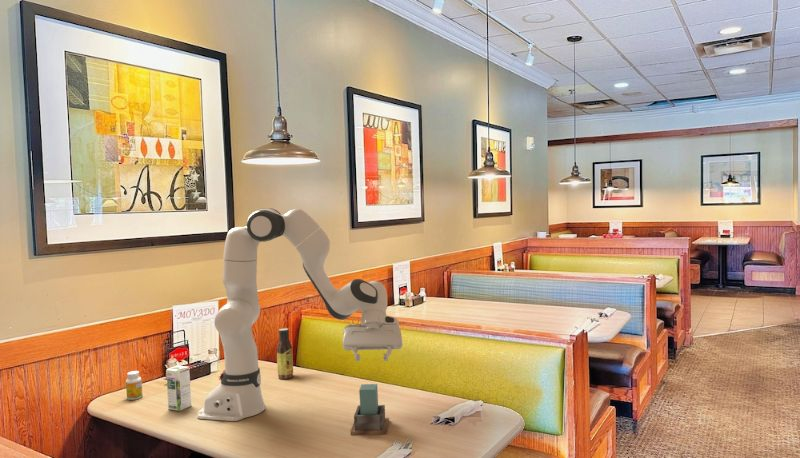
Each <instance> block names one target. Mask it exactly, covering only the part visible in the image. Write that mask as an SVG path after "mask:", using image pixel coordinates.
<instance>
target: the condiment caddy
mask: <svg viewBox="0 0 800 458" xmlns="http://www.w3.org/2000/svg"><path fill="white" fill-rule="evenodd" d="M385 408H386V405H385V404H378V411H379V415H361V413H360V404H359V405H357V407H356V410H355V413H354V415H353V423H352V427H351V429H350V435H351V436H353V435H354V436H356V435H357V436H358V435H361V436H362V435H363V436H365V435H388V429H389V424H390V417H386V409H385Z"/></svg>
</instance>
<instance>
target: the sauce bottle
mask: <svg viewBox="0 0 800 458" xmlns="http://www.w3.org/2000/svg"><path fill="white" fill-rule="evenodd" d="M289 331H290V330H289V328H287V327H286V328H279V329H278V334H279V335H278V337H279V338H278V340H279V341H278V343H277V345H276V363H277V364H276V365H277V376H278V377H277V378H278V379H280V380H287V379H288V380H289V379H291V378H293V376H294V360H293V359H294V356H293V346H292V344H291V341H290V338H289Z"/></svg>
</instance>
